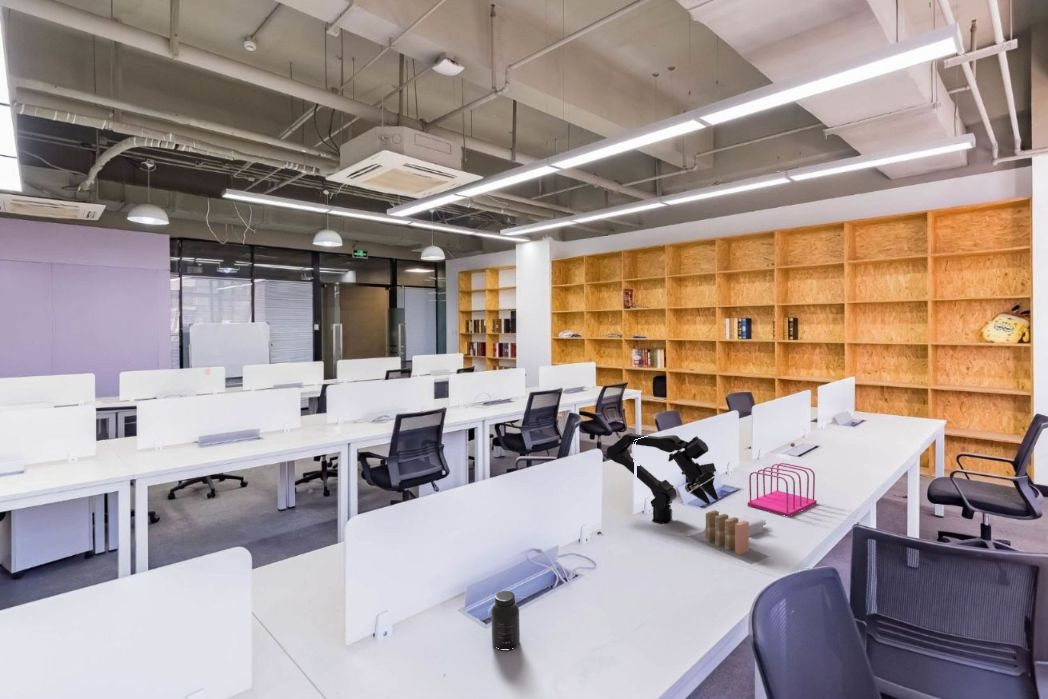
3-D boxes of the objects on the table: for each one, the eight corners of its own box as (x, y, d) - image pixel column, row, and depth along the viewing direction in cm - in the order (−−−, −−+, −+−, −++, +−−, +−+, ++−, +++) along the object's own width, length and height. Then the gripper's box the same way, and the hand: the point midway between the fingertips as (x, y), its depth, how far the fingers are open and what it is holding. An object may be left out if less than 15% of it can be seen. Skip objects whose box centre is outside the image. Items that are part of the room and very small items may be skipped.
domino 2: (715, 544, 181) (715, 516, 181) (724, 541, 184) (724, 513, 183) (718, 546, 180) (719, 517, 179) (728, 543, 182) (728, 515, 182)
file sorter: (747, 506, 221) (747, 469, 220) (776, 494, 236) (776, 459, 235) (788, 518, 207) (788, 479, 206) (816, 504, 222) (817, 467, 222)
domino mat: (687, 538, 189) (687, 536, 189) (705, 532, 194) (705, 530, 194) (751, 565, 166) (751, 564, 166) (770, 558, 172) (770, 556, 172)
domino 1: (705, 540, 185) (705, 513, 184) (715, 537, 187) (715, 510, 187) (709, 542, 183) (709, 514, 183) (718, 539, 186) (718, 511, 185)
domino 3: (724, 548, 178) (724, 520, 177) (734, 545, 180) (734, 517, 180) (728, 550, 176) (728, 521, 176) (738, 547, 179) (738, 518, 178)
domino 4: (734, 553, 174) (735, 523, 174) (744, 549, 177) (744, 520, 176) (739, 554, 173) (739, 525, 172) (748, 551, 176) (748, 522, 175)
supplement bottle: (491, 635, 131) (490, 589, 130) (518, 634, 131) (518, 587, 131) (492, 652, 124) (491, 603, 123) (520, 651, 124) (520, 601, 124)
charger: (774, 530, 195) (747, 538, 188) (752, 522, 203) (726, 530, 196) (774, 517, 195) (747, 525, 188) (752, 510, 203) (726, 517, 196)
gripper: (711, 448, 191) (739, 486, 186) (696, 460, 208) (721, 494, 203) (687, 464, 189) (715, 502, 183) (674, 474, 206) (699, 509, 200)
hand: (713, 501), depth 192 cm, fingers open, 9 cm apart
